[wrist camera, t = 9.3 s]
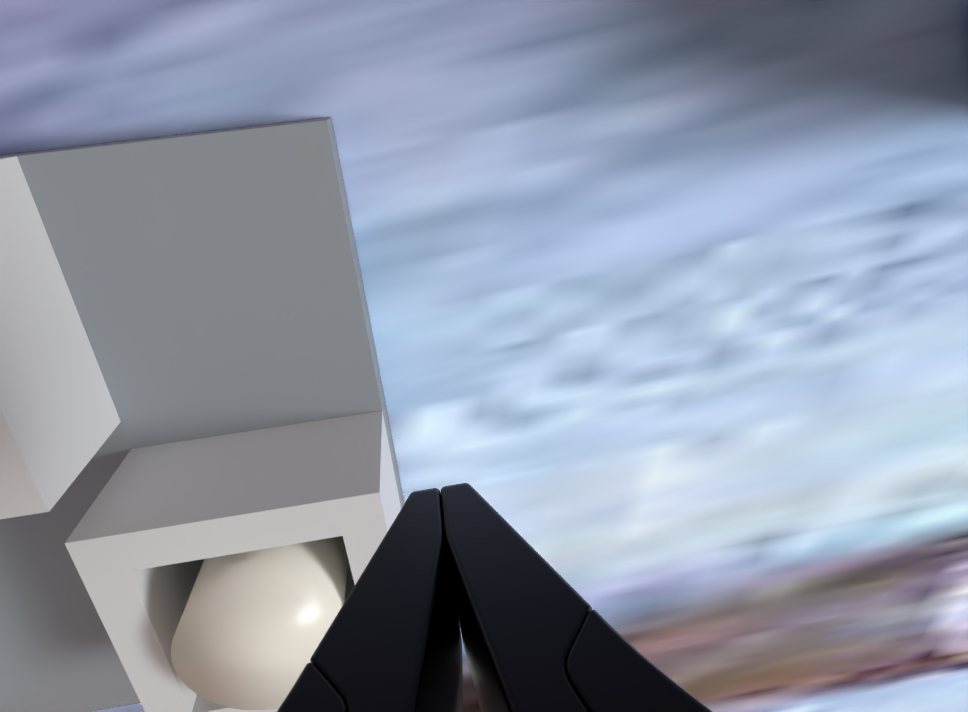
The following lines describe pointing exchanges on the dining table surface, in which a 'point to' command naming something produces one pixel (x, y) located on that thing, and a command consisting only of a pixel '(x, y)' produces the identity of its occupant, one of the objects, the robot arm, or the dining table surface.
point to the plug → (258, 621)
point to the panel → (173, 395)
